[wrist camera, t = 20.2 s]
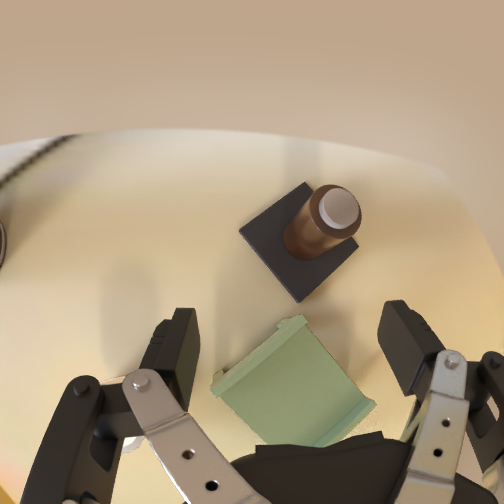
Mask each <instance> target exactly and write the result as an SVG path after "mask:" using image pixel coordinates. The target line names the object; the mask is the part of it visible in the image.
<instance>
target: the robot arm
mask: <svg viewBox="0 0 504 504" xmlns="http://www.w3.org/2000/svg"><path fill="white" fill-rule="evenodd" d="M5 247H6V236H5V230H4V227H3V225H2V223H1V222H0V267H1V264H2V262H3V258H4V254H5ZM377 336H378V342H379V344H380V346H381V348H382V350H383V352H384V354H385V356H386V358H387V360H388V362H389V364H390V366H391V368H392V370H393V372H394V375H395V377H396V379H397V381H398V383H399V385H400V387H401V389H402V391H403V394H404V396H410V395H414V394H415V395H416V397H417V398H416V399H415V401H414V403H413V406H412V409H411V412H410V415H409V418H408V421H407V423H406V426H405V429H404V431H403V434H402V436H401V438H400V440H394V439H387V438H384V437H383V434H382V431H377V432H372V433H367V434H362V435H357V436H352V437H350V438H347V439H345V440H342V441H340V442H337V443H335V444H332V445H329V446H326V447H310V446H301V445H293V444H277V445H255V447H256V453H254V454H249V455H246V456H243V457H240V458H238V459H236V460H234V461H232V462H230V463H229V462H228V461H227V460H226V458H225V457H224V456H223V455H222V454H221V452H220V451H219V450H218V449H217V448H216V446H215V445H214V444H213V443H212V442H211V440H210V439H209V438H208V437H207V435H206V434H205V433H204V432H203V430H202V429H201V428H200V426H199V425H198V424H197V422H196V421H195V420H194V418H193V417H192V416H191V415H190V414H189V413H185V412H188V407H189V402H190V397H191V392H192V387H193V382H194V377H195V372H196V367H197V362H198V358H199V353H200V334H199V328H198V322H197V316H196V310H195V308H176V310H175V312H174V315H173V317H172V320H167V319H164V320H163V321H162V322H161V323H160V324H159V325H158V326H157V327H156V329H155V331H154V333H153V337H152V338H151V340H150V344H149V345H148V347H147V350H146V352H145V355H144V357H143V359H142V362H141V364H140V367H139V369H138V370H135V371H132V372H131V373H129V374H128V375H127V376H126V377H125V378H124V380H123V382H122V383H117V384H108V385H100V383H99V381H98V380H97V379H96V378H95V377H92V376H89V375H83V376H79V377H76V378H74V379H73V380H72V381H71V382H70V383H69V384H68V385H67V387H66V389H65V391H64V393H63V395H62V397H61V399H60V401H59V404H58V406H57V408H56V410H55V412H54V414H53V417H52V419H51V421H50V423H49V426H48V428H47V430H46V433H45V435H44V437H43V440H42V442H41V445H40V447H39V450H38V452H37V455H36V457H35V460H34V463H33V465H32V468H31V471H30V474H29V476H28V479H27V482H26V485H25V488H24V491H23V495H22V498H21V501H20V504H110V503H111V498H112V493H113V488H114V483H115V478H116V474H117V469H118V465H119V460H120V456H121V452H122V448H123V444H124V440H125V438H128V437H137V436H146V438H147V440H148V442H149V444H150V445H151V447H152V449H153V450H154V452H155V454H156V456H157V457H158V459H159V461H160V462H161V464H162V465H163V467H164V469H165V470H166V472H167V473H168V475H169V476H170V478H171V480H172V481H173V483H174V484H175V485H176V487H177V488H178V490H179V491H180V493H181V494H182V496H183V497H184V498H185V500H186V501H185V502H184V503H183V504H504V356H502V355H501V354H499V353H497V352H494V351H489V352H486V353H485V354H484V355H483V357H482V359H481V361H480V362H473V361H466V359H465V357H464V356H463V355H462V354H460V353H459V352H457V351H454V350H446V348H445V347H444V346H443V344H442V343H441V341H440V340H439V339H438V337H437V336H436V334H435V333H434V332H433V330H432V331H431V328H430V326H429V325H427V322H426V321H425V320H424V318H423V317H422V316H421V315H420V314H418V313H417V312H415V311H414V310H410V308H409V307H408V306H407V304H406V303H405V302H404V301H403V300H393V301H386V302H385V304H384V307H383V311H382V315H381V319H380V323H379V327H378V333H377ZM491 396H492V398H493V399H494V401H495V403H496V405H497V407H498V409H499V418H498V420H497V421H496V419H495V417H494V415H493V413H492V412H491V410H490V408H489V406H488V404H487V401H488V400H489V398H490V397H491ZM465 430H466V432H467V435H468V437H469V439H470V442H471V444H472V447H473V449H474V452H475V454H476V457H477V460H478V462H479V465H480V468H481V470H482V473H483V477H482V484H481V485H478V484H476V483H475V482H473V481H471V480H469V479H467V478H466V477H464V476H462V475H460V474H458V473H457V472H456V469H457V466H458V461H459V457H460V454H461V449H462V445H463V440H464V435H465Z"/></svg>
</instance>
